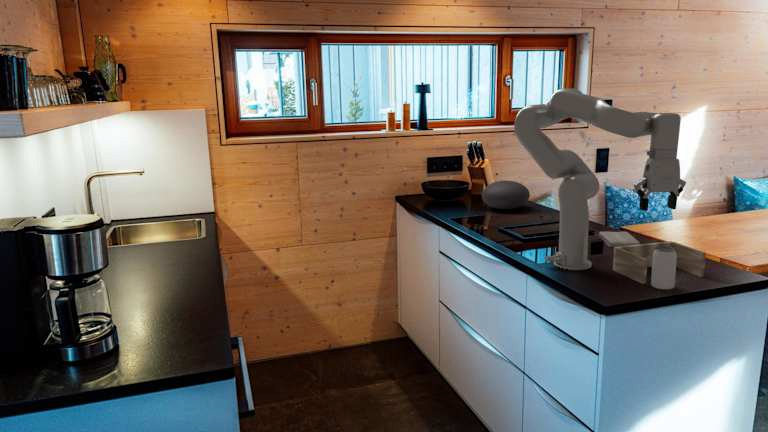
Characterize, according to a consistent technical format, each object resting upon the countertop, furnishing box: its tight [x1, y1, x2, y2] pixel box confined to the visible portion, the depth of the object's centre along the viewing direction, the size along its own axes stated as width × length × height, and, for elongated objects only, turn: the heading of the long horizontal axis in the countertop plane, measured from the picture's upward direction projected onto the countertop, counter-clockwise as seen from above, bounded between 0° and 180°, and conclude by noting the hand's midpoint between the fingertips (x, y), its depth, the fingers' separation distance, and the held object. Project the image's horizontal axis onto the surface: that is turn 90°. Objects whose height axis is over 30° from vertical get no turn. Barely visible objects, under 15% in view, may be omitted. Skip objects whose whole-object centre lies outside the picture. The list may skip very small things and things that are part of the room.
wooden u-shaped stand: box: [612, 240, 707, 285], centre depth 182 cm, size 22×15×8 cm
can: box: [650, 247, 677, 291], centre depth 169 cm, size 6×6×12 cm
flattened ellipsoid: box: [481, 179, 531, 210], centre depth 291 cm, size 25×25×15 cm
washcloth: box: [598, 231, 641, 248], centre depth 222 cm, size 12×18×3 cm, turn 174°
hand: (657, 209), depth 173 cm, fingers open, 9 cm apart
